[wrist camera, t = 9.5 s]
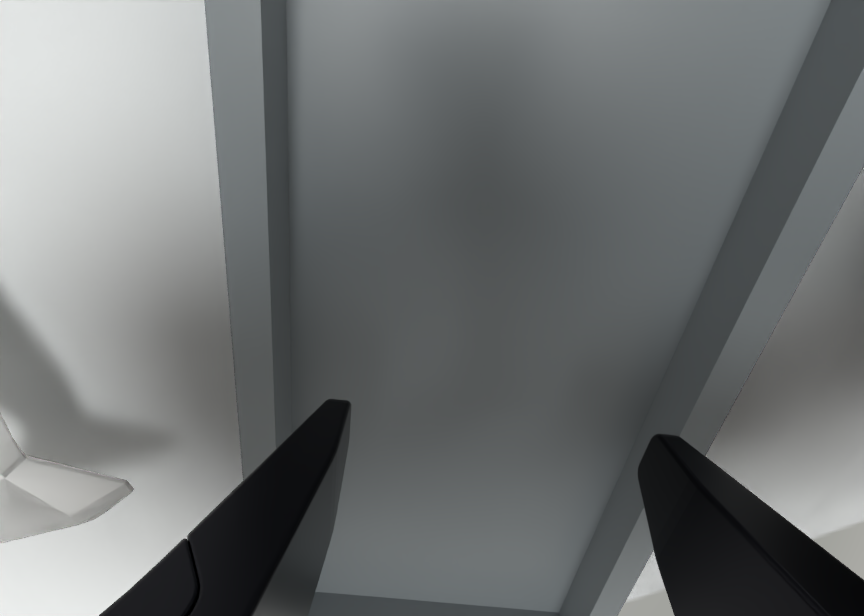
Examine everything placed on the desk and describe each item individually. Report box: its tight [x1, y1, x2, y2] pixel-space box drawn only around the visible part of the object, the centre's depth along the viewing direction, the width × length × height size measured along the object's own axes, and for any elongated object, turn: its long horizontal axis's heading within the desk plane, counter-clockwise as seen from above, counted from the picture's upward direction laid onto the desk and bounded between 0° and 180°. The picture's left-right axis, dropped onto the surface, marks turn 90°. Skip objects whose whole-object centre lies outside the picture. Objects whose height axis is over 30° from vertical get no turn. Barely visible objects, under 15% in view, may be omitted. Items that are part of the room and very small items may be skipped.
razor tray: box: [205, 0, 864, 616], centre depth 11 cm, size 11×23×2 cm, turn 173°
